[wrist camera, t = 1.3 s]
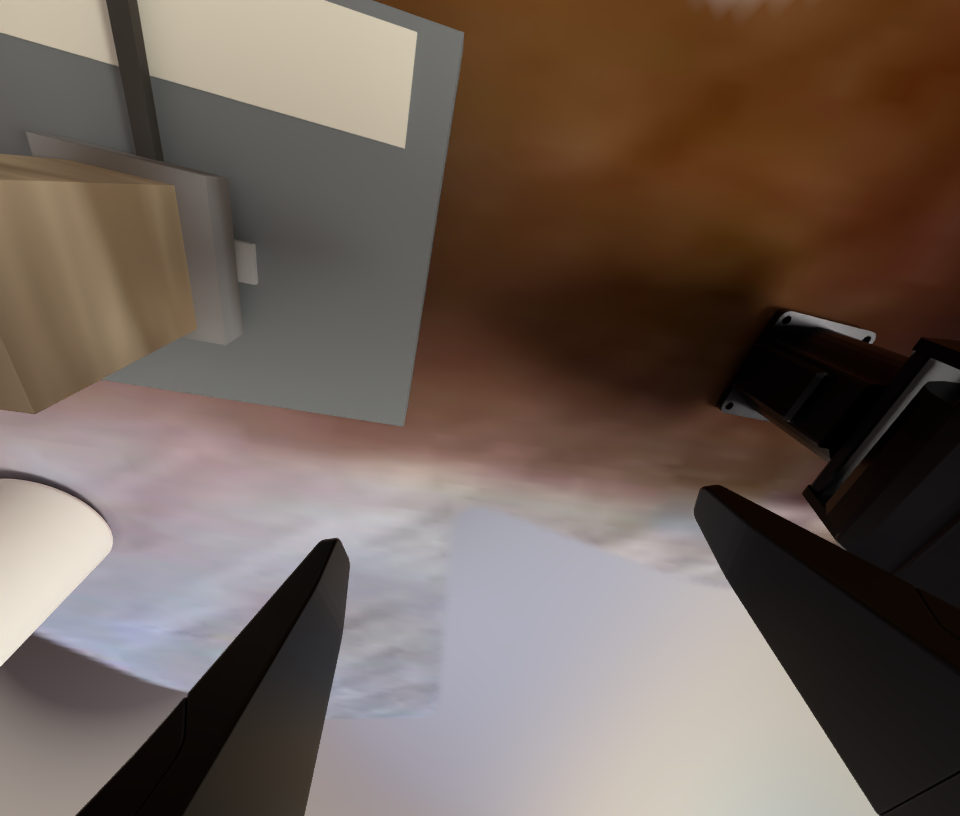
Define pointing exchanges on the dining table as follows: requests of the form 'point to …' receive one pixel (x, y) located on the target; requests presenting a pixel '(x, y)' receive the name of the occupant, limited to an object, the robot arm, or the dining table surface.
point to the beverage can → (42, 554)
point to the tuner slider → (108, 250)
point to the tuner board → (272, 174)
